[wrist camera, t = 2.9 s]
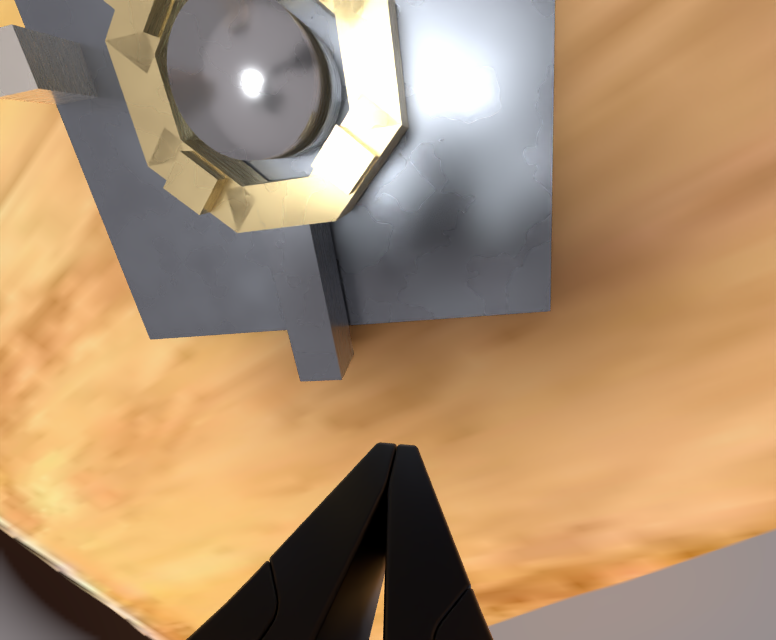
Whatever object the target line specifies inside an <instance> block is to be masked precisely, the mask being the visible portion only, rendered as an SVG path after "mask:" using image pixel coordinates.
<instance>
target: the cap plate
mask: <svg viewBox="0 0 776 640" xmlns="http://www.w3.org/2000/svg"><path fill="white" fill-rule="evenodd" d="M15 3H16V5H17V8H18V10H19V13H20V15H21V18H22V20H23V23H24V25H25V28H23V27H19V26H15V25H8V26H4V27H0V98H1V99H10V100H20V101H29V102H39V103H48V104H56V105H57V108H58V110H59V113H60V115H61V118H62V120H63V123H64V125H65V128H66V130H67V133H68V135H69V138H70V140H71V143H72V145H73V148H74V150H75V153H76V155H77V158H78V160H79V163H80V165H81V168H82V170H83V173H84V175H85V178H86V180H87V183H88V185H89V188H90V190H91V193H92V195H93V198H94V200H95V203H96V205H97V208H98V210H99V213H100V215H101V218H102V220H103V223H104V225H105V228H106V230H107V233H108V235H109V238H110V240H111V243H112V245H113V248H114V250H115V253H116V255H117V258H118V260H119V263H120V265H121V268H122V270H123V273H124V275H125V278H126V280H127V283H128V285H129V288H130V290H131V293H132V295H133V298H134V300H135V303H136V305H137V308H138V310H139V313H140V315H141V318H142V320H143V323H144V325H145V328H146V330H147V333H148V335H149V338H150V339H164V338H178V337H192V336H206V335H220V334H234V333H248V332H263V331H277V330H287V327H286V323H285V319H284V315H283V311H282V307H281V303H280V299H279V295H278V291H277V288H276V284H275V280H274V276H273V272H272V268H271V264H270V260H269V256H268V252H267V248H266V244H265V241H264V237H263V233H262V230H258V231H250V232H242V233H237V232H235V231H234V230H233V229H231V228H230V227H229V226H227V225H226V224H225V223H223V222H222V221H221V220H219V219H218V218H217V217H215V216H214V215H212V214H211V213H210V212H209V213H206V214H202V215H199V214H197V213H196V212H195V211H193V210H192V209H191V208H189V207H188V206H187V205H185V204H184V203H183V202H181V201H180V200H178V199H177V198H176V197H174V196H173V195H172V194H170V193H169V192H168V191H166V190H165V189H164V188H163V187H164V185H165V183H166V179H164V178H163V177H162V176H160V175H159V174H158V173H156V172H155V171H154V170H152V169H151V168H150V167H148V165H147V162H146V159H145V157H144V154H143V151H142V148H141V145H140V142H139V139H138V136H137V133H136V130H135V127H134V124H133V121H132V118H131V116H130V113H129V110H128V107H127V104H126V101H125V98H124V95H123V92H122V89H121V86H120V83H119V80H118V77H117V74H116V72H115V69H114V66H113V63H112V60H111V57H110V54H109V51H108V48H107V45H106V42H105V39H106V36H107V33H108V30H109V27H110V24H111V21H112V18H113V14H114V11H115V9H114V8H112V7H111V6H110V5H109V4H107V3H106V2H105V1H104V0H15ZM395 5H396V15H397V24H398V33H399V42H400V52H401V61H402V70H403V79H404V89H405V98H406V107H407V116H408V126H409V128H408V129H407V131H406V132H405V134H404V135H403V137H402V138H401V139H400V141H399V142H398V144H397V145H396V147H395V148H394V150H393V151H392V152H391V154H390V155H389V157H388V158H387V160H386V161H385V163H384V164H383V165H382V167H381V168H380V170H379V171H378V173H377V174H376V176H375V177H374V178H373V180H372V181H371V183H370V184H369V186H368V187H367V189H366V190H365V191H364V193H363V194H362V196H361V197H360V199H359V200H358V201H357V203H356V204H355V206H354V207H353V209H352V210H351V211H350V212H349V213H347V214H346V215H344V216H343V217H341V218H340V219H338V220H336V221H332V222H329V225H330V230H331V235H332V241H333V246H334V251H335V256H336V262H337V267H338V272H339V277H340V282H341V288H342V293H343V298H344V303H345V309H346V314H347V319H348V324H349V325H362V324H376V323H390V322H404V321H418V320H432V319H446V318H461V317H475V316H489V315H503V314H517V313H531V312H545V311H550V303H551V236H552V168H553V101H554V34H555V0H395ZM167 72H168V79H169V84H170V88H171V92H172V95H173V97H174V100H175V103H176V105H177V107H178V109H179V111H180V113H181V115H182V117H183V118H184V120H185V122H186V123H187V124H188V126H189V127H190V128H191V130H192V131H193V132H194V133H195V134H196V135H197V136H198V138H199V139H201V140H202V141H203V142H204V143H205V144H206V145H208V146H209V147H211V148H212V149H214V150H215V151H217V152H219V153H221V154H223V155H225V156H228V157H230V158H234V159H238V160H242V161H243V162H244V163H246V164H247V165H248V166H249V167H251V168H252V169H253V170H255V171H256V172H257V173H258V174H260V175H261V176H262V177H264V178H265V179H266V180H267V181H276V180H282V179H289V178H296V177H303V176H310V174H311V173H312V171H313V169H314V168H313V167H312V166H311V165H312V163H313V162H314V160H315V158H316V157H317V155H318V154H319V152H320V150H321V149H322V147H323V145H324V144H325V142H326V140H327V139H328V137H329V136H330V134H331V132H332V131H333V129H334V127H335V126H336V125H341V124H342V122H343V121H344V119H345V118H346V116H347V114H348V113H349V111H350V106H349V100H348V93H347V87H346V80H345V74H344V68H343V61H342V55H341V48H340V42H339V35H338V29H337V22H336V19H335V18H333V17H332V16H331V15H330V14H329V13H328V12H327V11H325V10H324V9H323V8H322V7H321V6H320V5H318V4H317V3H316V2H315V1H314V0H188V1H187V2H186V4H185V5H184V6H183V7H182V9H181V10H180V12H179V13H178V15H177V17H176V19H175V21H174V23H173V26H172V29H171V32H170V36H169V41H168V47H167Z"/></svg>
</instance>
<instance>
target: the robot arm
mask: <svg viewBox="0 0 776 640" xmlns="http://www.w3.org/2000/svg"><path fill="white" fill-rule="evenodd" d="M269 560H270V562H269V561H266V562H265V563H264V564H263V565H262V566H261V567H260V569H259V570H258V571H257V572H256V573H255V574H254V575H253V576H252V577H251V578H250V579H249V580H248V581H247V582H246V583H245V584H244V585H243V586H242V587H241V588H240V589H239V590H238V591H237V592H236V593H235V594H234V595H233V596H232V597H231V598H230V599H229V600H228V601H227V602H226V603H225V604H224V605H223V606H222V607H221V608H220V609H219V610H218V611H217V612H216V613H215V614H214V615H213V616H211V617H210V618H209V619H208V620H207V621H206V622H205V623H204V624H203V625H202V626H201V627H200V628H198V629H197V630H196V631H195V632H194V633H193V634H192V635H191V636H190V637H189V638H187V639H186V640H369V637H370V633H371V629H372V624H373V620H374V616H375V612H376V608H377V603H378V599H379V595H380V591H381V586H382V582H383V578H384V574H385V589H384V626H383V640H493V638H492V635H491V633H490V631H489V628H488V626H487V623H486V621H485V619H484V616H483V614H482V612H481V609H480V607H479V604H478V601H477V599H476V596H475V594H474V591H473V589H471V584H470V581H469V579H468V576H467V574H466V571H465V568H464V566H463V563H462V561H461V558H460V556H459V553H458V550H457V548H456V545H455V543H454V540H453V538H452V535H451V532H450V530H449V527H448V525H447V522H446V519H445V517H444V514H443V512H442V509H441V507H440V504H439V501H438V499H437V496H436V494H435V491H434V489H433V486H432V483H431V481H430V478H429V476H428V473H427V470H426V468H425V465H424V463H423V460H422V458H421V455H420V452H419V450H418V448H417V447H416V446H414V445H404V444H400V445H398V446H396V444H392V443H377V444H376V445H375V446H374V447H373V448H372V449H371V450H370V451H369V453H368V454H367V455H366V456H365V457H364V458H363V459H362V460H361V461H360V462H359V463H358V464H357V465H356V466H355V467H354V469H353V470H352V471H351V472H350V473H349V474H348V475H347V476H346V477H345V478H344V479H343V480H342V481H341V482H340V483H339V485H338V486H337V487H336V488H335V489H334V490H333V491H332V492H331V493H330V494H329V495H328V496H327V497H326V498H325V499H324V501H323V502H322V503H321V504H320V505H319V506H318V507H317V508H316V509H315V510H314V511H313V512H312V513H311V514H310V515H309V517H308V518H307V519H306V520H305V521H304V522H303V523H302V524H301V525H300V526H299V527H298V528H297V529H296V530H295V531H294V533H293V534H292V535H291V536H290V537H289V538H288V539H287V540H286V541H285V542H284V543H283V544H282V545H281V546H280V547H279V549H278V550H277V551H276V552H275V553H274V554H273V555H272V556H271V557H270V559H269Z"/></svg>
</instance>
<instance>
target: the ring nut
mask: <svg viewBox="0 0 776 640" xmlns="http://www.w3.org/2000/svg"><path fill="white" fill-rule="evenodd" d="M104 1H105V2H106V3H107V4H109V5H110V6H111V7H112V8H114V9H115V11H114V14H113V18H112V21H111V24H110V27H109V30H108V33H107V36H106V39H105V42H106V45H107V48H108V51H109V54H110V57H111V60H112V63H113V66H114V69H115V72H116V74H117V77H118V80H119V83H120V86H121V89H122V92H123V95H124V98H125V101H126V104H127V107H128V110H129V113H130V116H131V118H132V121H133V124H134V127H135V130H136V133H137V136H138V139H139V142H140V145H141V148H142V151H143V154H144V157H145V159H146V162H147V165H148V167H150V168H151V169H152V170H154V171H155V172H156V173H158V174H159V175H160V176H162V177H163V178H164V179H166V183H165V185H164V187H163V188H164V189H165V190H166V191H168V192H169V193H170V194H172V195H173V196H174V197H176V198H177V199H178V200H180V201H181V202H183V203H184V204H185V205H187V206H188V207H189V208H191V209H192V210H193V211H195V212H196V213H197V214H199V215H202V214H206V213H209V212H210V213H211V214H212V215H214V216H215V217H217V218H218V219H219V220H221V221H222V222H223V223H225V224H226V225H227V226H229V227H230V228H231V229H233V230H234V231H235V232H237V233H242V232H250V231H258V230H262V233H263V237H264V241H265V244H266V248H267V252H268V256H269V260H270V264H271V268H272V272H273V276H274V280H275V284H276V288H277V291H278V295H279V299H280V303H281V307H282V311H283V315H284V319H285V323H286V327H287V331H288V335H289V339H290V342H291V346H292V350H293V354H294V358H295V362H296V366H297V370H298V374H299V378H300V381H322V380H342V378H343V376H344V374H345V372H346V370H347V368H348V366H349V364H350V361H351V359H352V357H353V355H354V350H353V345H352V340H351V335H350V330H349V324H348V319H347V314H346V309H345V303H344V298H343V293H342V288H341V282H340V277H339V272H338V267H337V262H336V256H335V251H334V246H333V241H332V235H331V230H330V225H329V222H332V221H336V220H338V219H340V218H341V217H343V216H344V215H346V214H347V213H349V212H350V211H351V210H352V209H353V207H354V206H355V204H356V203H357V201H358V200H359V199H360V197H361V196H362V194H363V193H364V191H365V190H366V189H367V187H368V186H369V184H370V183H371V181H372V180H373V178H374V177H375V176H376V174H377V173H378V171H379V170H380V168H381V167H382V165H383V164H384V163H385V161H386V160H387V158H388V157H389V155H390V154H391V152H392V151H393V150H394V148H395V147H396V145H397V144H398V142H399V141H400V139H401V138H402V137H403V135H404V134H405V132H406V131H407V129H408V128H409V126H408V116H407V107H406V98H405V89H404V79H403V70H402V61H401V52H400V42H399V33H398V24H397V15H396V5H395V0H314V1H315V2H316V3H317V4H318V5H320V6H321V7H322V8H323V9H324V10H325V11H327V12H328V13H329V14H330V15H331V16H332V17H333V18H335V19H336V22H337V29H338V35H339V42H340V48H341V55H342V61H343V68H344V74H345V80H346V87H347V93H348V100H349V106H350V111H349V113H348V114H347V116H346V118H345V119H344V121H343V122H342V124H341V125H336V126H335V127H334V129H333V131H332V132H331V134H330V136H329V137H328V139H327V140H326V142H325V144H324V145H323V147H322V149H321V150H320V152H319V154H318V155H317V157H316V158H315V160H314V162H313V163H312V165H311V166H312V167H313V168H314V169H313V171H312V173H311V174H310V176H303V177H296V178H289V179H282V180H276V181H267V180H266V179H265V178H264V177H262V176H261V175H260V174H258V173H257V172H256V171H255V170H253V169H252V168H251V167H249V166H248V165H247V164H246V163H244V162H243V161H242V160H238V159H234V158H230V157H228V156H225V155H223V154H221V153H219V152H217V151H215V150H214V149H212V148H211V147H209V146H208V145H206V144H205V143H204V142H203V141H202V140H201V139H199V138H198V136H197V135H196V134H195V133H194V132H193V131H192V130H191V128H190V127H189V126H188V124H187V123H186V122H185V120H184V118H183V117H182V115H181V113H180V111H179V109H178V107H177V105H176V103H175V100H174V97H173V95H172V92H171V88H170V84H169V79H168V72H167V47H168V41H169V36H170V32H171V29H172V26H173V23H174V21H175V19H176V17H177V15H178V13H179V12H180V10H181V9H182V7H183V6H184V5H185V4H186V2H187V1H188V0H104Z"/></svg>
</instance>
